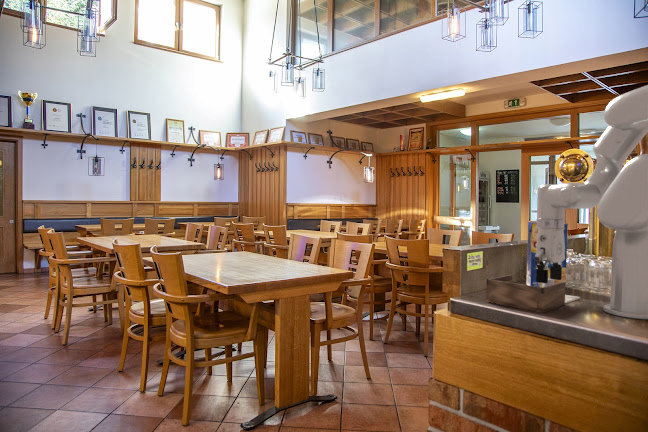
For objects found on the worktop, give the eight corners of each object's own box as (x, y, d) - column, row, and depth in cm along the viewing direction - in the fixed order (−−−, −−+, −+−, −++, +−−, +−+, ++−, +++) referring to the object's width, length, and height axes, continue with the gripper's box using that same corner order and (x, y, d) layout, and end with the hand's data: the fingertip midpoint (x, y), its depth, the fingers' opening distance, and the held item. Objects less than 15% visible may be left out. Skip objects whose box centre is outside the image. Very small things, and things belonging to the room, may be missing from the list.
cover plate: (580, 300, 138) (580, 280, 137) (564, 305, 130) (564, 284, 129) (533, 293, 148) (534, 274, 148) (516, 297, 140) (516, 278, 140)
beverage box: (565, 289, 151) (567, 223, 151) (530, 287, 154) (532, 222, 153) (559, 285, 158) (562, 222, 157) (526, 284, 161) (528, 221, 160)
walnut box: (564, 305, 128) (565, 282, 127) (542, 312, 118) (543, 288, 118) (509, 295, 140) (510, 274, 139) (486, 301, 130) (486, 279, 130)
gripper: (551, 226, 130) (549, 285, 130) (574, 224, 141) (573, 279, 141) (524, 225, 135) (523, 282, 136) (549, 223, 147) (548, 276, 147)
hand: (548, 281), depth 139 cm, fingers open, 9 cm apart
